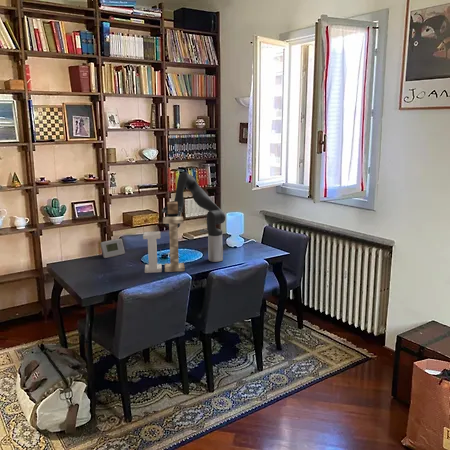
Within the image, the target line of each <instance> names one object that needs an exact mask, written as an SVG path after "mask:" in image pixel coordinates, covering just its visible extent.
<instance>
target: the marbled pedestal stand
mask: <svg viewBox="0 0 450 450" xmlns="http://www.w3.org/2000/svg"><path fill="white" fill-rule="evenodd" d="M178 223H180V224H184V216H181V217H167V216H163V217H162V224H163V225H164V224H165V225H166V224H169V226H168V227H169V228H168V230H169V231H168V232H169V257H170V258H169V262H170V263H164V272H165V273H168V272H169V273H170V272H171V273H172V272H175V273H176V272H185V270H186V269H185V268H186V267H185V263H184V262H180V261H179V260H180V259H179V232H178V231H179V228H178Z"/></svg>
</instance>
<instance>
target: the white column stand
mask: <svg viewBox="0 0 450 450" xmlns="http://www.w3.org/2000/svg"><path fill="white" fill-rule="evenodd" d="M142 239H143V240H147V252H148V253H147V255H148V264H145V265H144V273H145V274H151V273H162V271H163V269H162V263H158V250H157V240H158V239H159V240H160V239H161V231H144V232H143V235H142Z"/></svg>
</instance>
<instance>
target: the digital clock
mask: <svg viewBox="0 0 450 450" xmlns="http://www.w3.org/2000/svg"><path fill="white" fill-rule="evenodd" d="M100 247H101V252H102V256H103V257H102V258H104V259H106V258H108V259H109V258H113V257H118V256H121V255H125V253H126V251H125V247H124V243H123V239H122V238H115V239H110V240H106V241H101V242H100Z"/></svg>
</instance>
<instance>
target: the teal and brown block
mask: <svg viewBox="0 0 450 450" xmlns="http://www.w3.org/2000/svg"><path fill="white" fill-rule="evenodd" d="M166 204H167V207H168V214H178V202H174V201H167V203H166Z"/></svg>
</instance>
